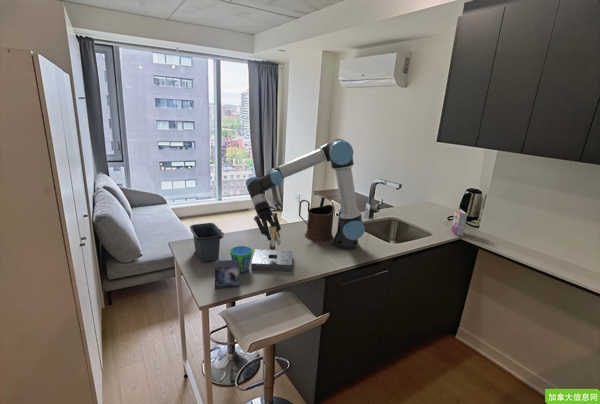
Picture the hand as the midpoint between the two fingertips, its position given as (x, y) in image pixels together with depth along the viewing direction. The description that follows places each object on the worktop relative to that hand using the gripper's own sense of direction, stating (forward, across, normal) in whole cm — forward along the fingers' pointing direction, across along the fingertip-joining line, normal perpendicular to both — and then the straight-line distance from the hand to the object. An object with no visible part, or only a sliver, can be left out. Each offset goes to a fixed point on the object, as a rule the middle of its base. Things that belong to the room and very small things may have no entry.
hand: (276, 245), depth 151 cm
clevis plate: (+6, 0, -11) cm, 12 cm away
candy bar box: (+26, -137, +11) cm, 140 cm away
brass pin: (0, 0, -5) cm, 5 cm away
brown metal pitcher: (-6, -43, -22) cm, 49 cm away
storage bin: (-12, +24, -30) cm, 40 cm away
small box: (+11, +28, -6) cm, 31 cm away
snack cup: (+4, +16, -13) cm, 21 cm away
